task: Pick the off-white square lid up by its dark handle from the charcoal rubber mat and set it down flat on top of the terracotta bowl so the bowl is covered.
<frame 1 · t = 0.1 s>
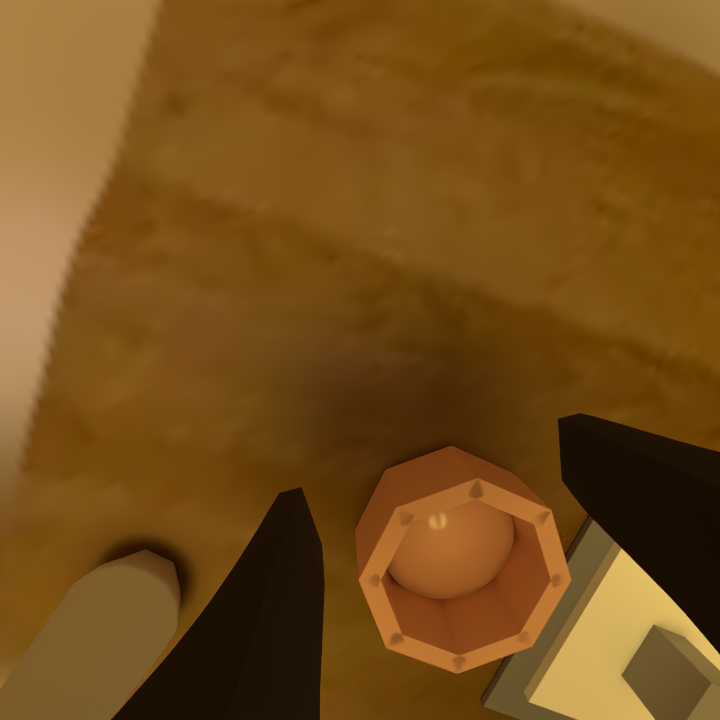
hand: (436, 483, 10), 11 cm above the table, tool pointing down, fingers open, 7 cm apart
mat: (639, 641, 23), on the table
lid: (645, 647, 23), resting on mat
bowl: (443, 530, 21), on the table
salt shaker: (147, 578, 21), on the table
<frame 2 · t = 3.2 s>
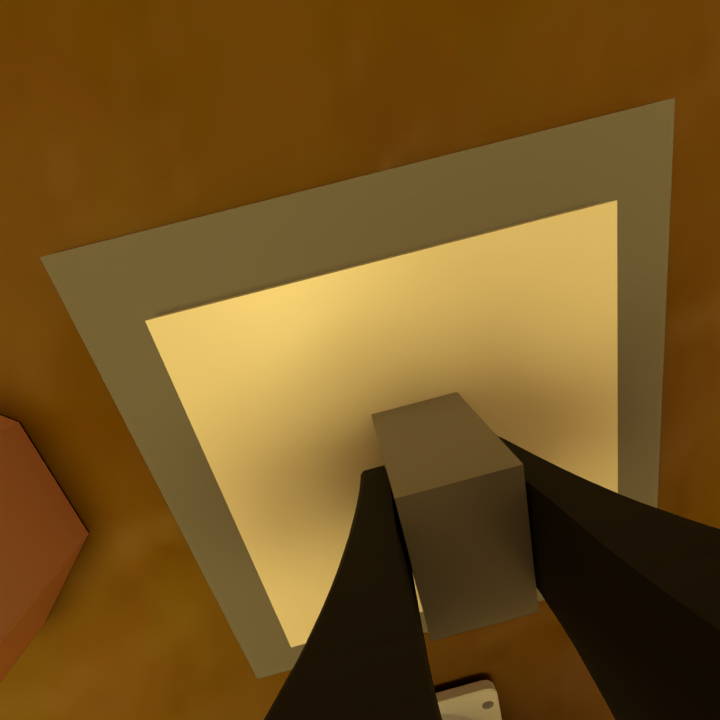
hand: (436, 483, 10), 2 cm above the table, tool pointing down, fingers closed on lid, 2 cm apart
mat: (418, 444, 11), on the table
lid: (421, 450, 11), resting on mat, touching gripper
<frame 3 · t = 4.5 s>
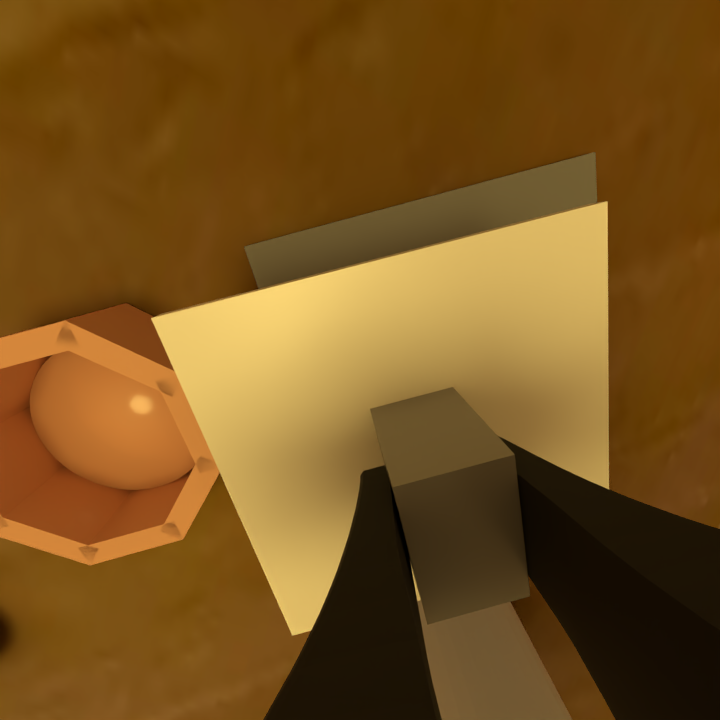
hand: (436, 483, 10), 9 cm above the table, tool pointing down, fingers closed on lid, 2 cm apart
mat: (448, 362, 18), on the table
lid: (418, 444, 11), point 7 cm above the table, touching gripper
bowl: (132, 411, 17), on the table
when the fingers open (7 cm above the table, at t = 6.2 s): lid stays where it is, resting on bowl.
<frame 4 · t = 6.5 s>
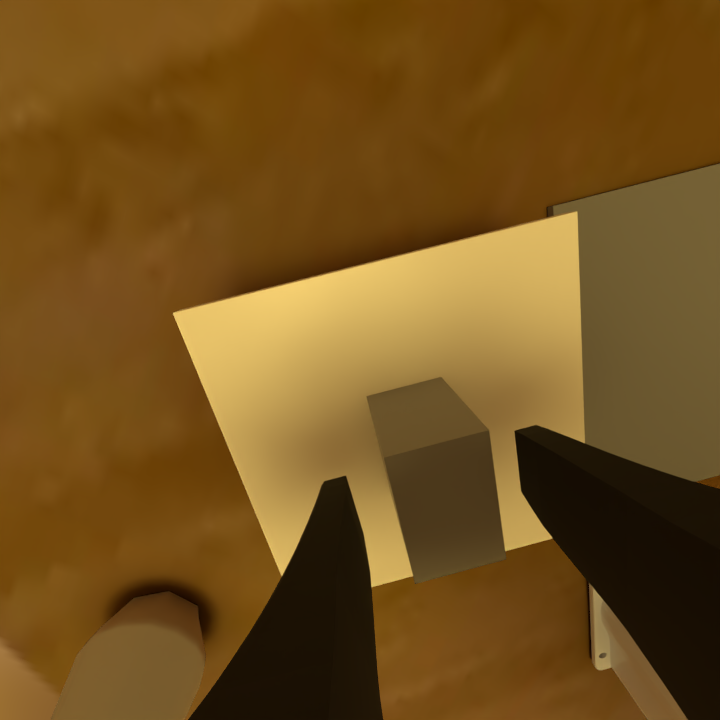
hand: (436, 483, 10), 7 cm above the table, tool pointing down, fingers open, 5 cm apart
mat: (714, 339, 17), on the table
lid: (410, 430, 13), point 4 cm above the table, touching bowl
salt shaker: (164, 615, 19), on the table
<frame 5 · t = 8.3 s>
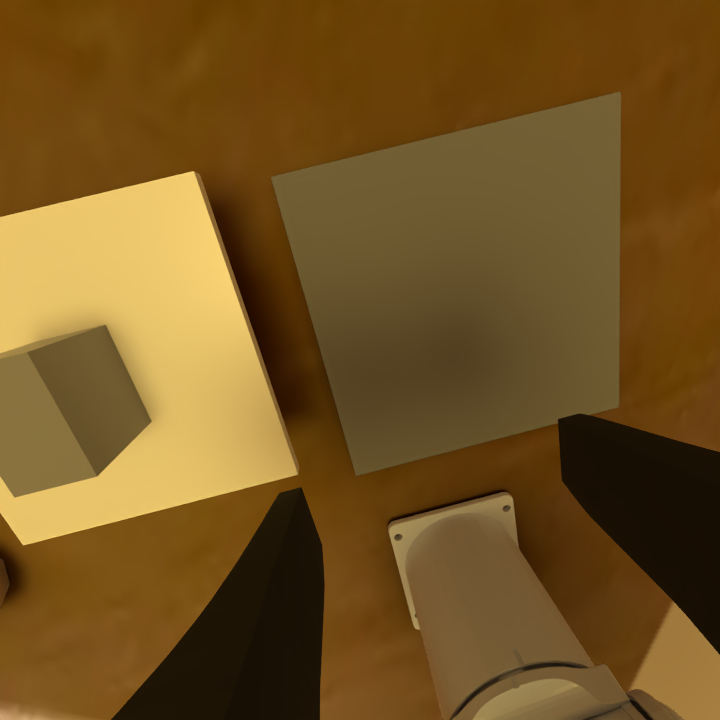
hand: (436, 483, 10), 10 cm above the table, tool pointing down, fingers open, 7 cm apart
mat: (467, 307, 18), on the table
lid: (106, 377, 14), point 4 cm above the table, touching bowl
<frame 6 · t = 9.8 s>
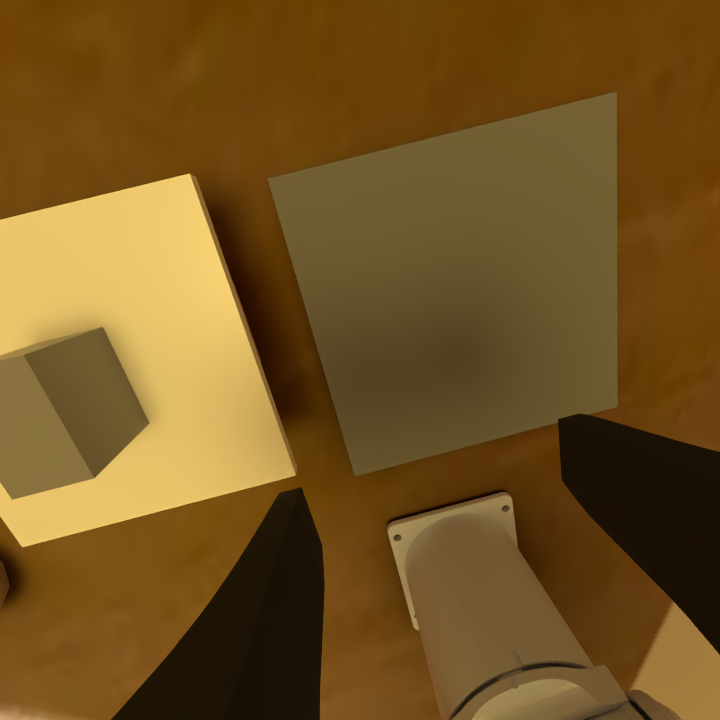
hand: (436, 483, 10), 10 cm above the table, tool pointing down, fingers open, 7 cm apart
mat: (465, 308, 18), on the table
lid: (104, 379, 14), point 4 cm above the table, touching bowl
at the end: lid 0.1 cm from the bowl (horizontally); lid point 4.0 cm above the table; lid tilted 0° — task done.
